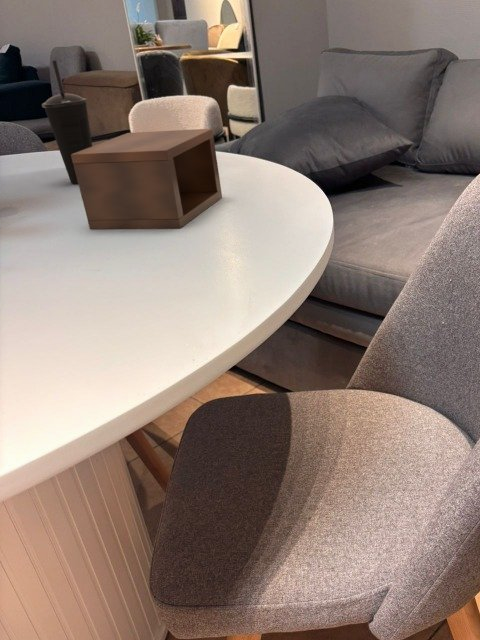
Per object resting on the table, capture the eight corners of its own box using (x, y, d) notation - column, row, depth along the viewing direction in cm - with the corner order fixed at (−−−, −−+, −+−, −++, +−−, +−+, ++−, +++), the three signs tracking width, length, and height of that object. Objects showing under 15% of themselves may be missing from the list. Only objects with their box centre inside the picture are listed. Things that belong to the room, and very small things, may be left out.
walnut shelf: (89, 228, 90) (70, 154, 85) (141, 199, 103) (127, 132, 98) (180, 228, 86) (166, 150, 81) (222, 197, 99) (212, 128, 94)
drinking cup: (103, 174, 123) (76, 57, 113) (106, 181, 117) (77, 58, 107) (63, 180, 121) (31, 62, 111) (63, 188, 115) (30, 63, 105)
